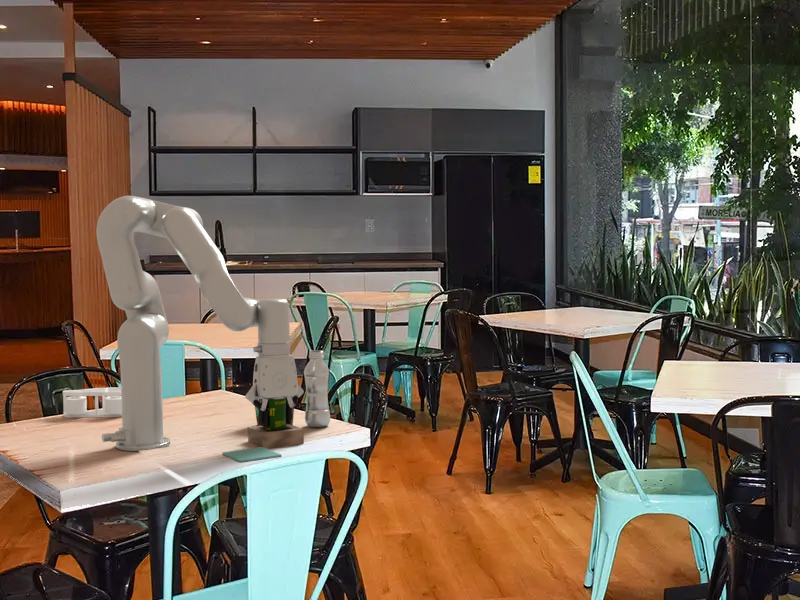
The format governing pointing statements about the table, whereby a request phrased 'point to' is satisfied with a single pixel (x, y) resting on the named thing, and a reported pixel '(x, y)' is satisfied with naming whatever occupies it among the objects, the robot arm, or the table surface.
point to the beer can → (276, 414)
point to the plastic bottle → (316, 390)
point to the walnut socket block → (275, 436)
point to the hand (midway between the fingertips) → (275, 424)
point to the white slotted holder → (111, 403)
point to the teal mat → (251, 454)
